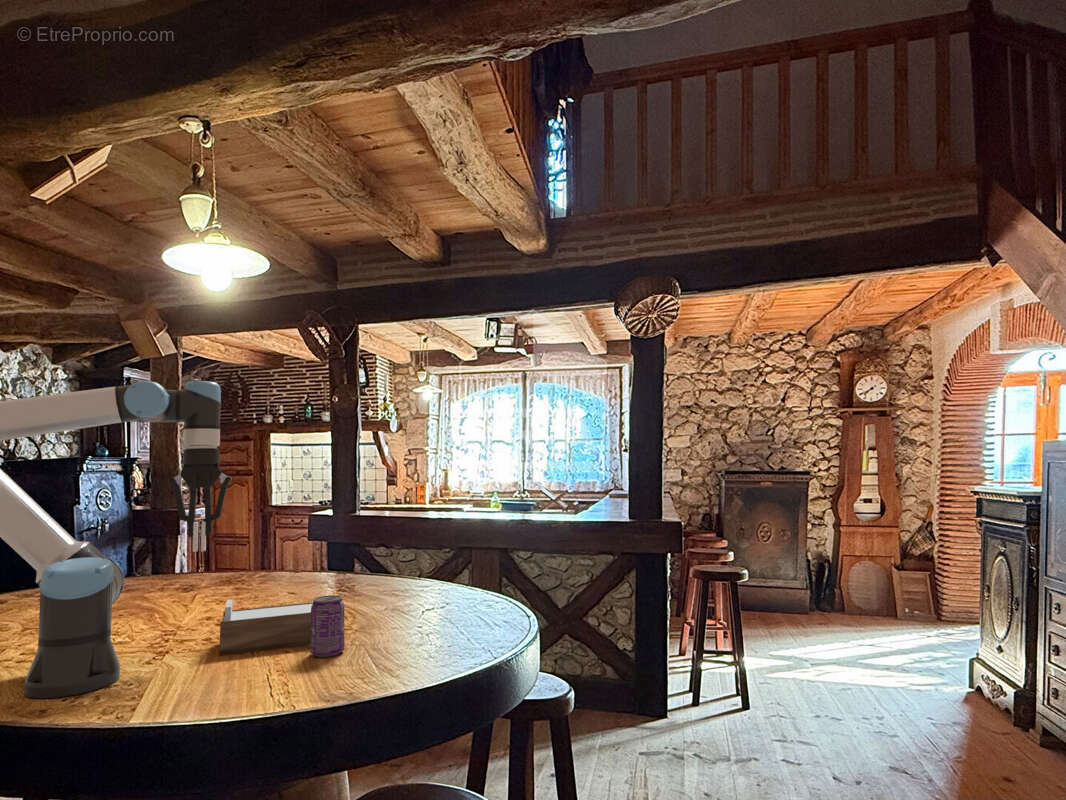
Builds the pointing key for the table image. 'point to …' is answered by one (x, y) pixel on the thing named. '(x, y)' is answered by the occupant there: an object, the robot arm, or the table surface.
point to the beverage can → (327, 626)
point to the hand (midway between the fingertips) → (199, 550)
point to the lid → (263, 611)
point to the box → (265, 632)
